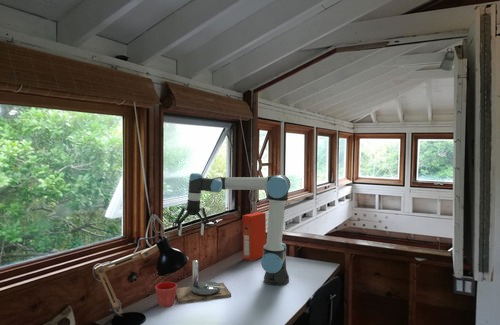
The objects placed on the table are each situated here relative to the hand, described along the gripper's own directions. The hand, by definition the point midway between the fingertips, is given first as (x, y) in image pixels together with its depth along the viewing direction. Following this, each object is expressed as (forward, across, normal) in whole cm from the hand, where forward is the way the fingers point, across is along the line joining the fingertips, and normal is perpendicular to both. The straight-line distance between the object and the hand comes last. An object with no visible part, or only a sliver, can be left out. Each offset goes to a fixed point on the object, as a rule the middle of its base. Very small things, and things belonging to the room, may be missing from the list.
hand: (190, 234), depth 217 cm
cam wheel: (+25, -6, +21) cm, 34 cm away
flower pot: (+29, +18, +25) cm, 42 cm away
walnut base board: (+28, -3, +20) cm, 34 cm away
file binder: (+26, -59, -27) cm, 70 cm away
